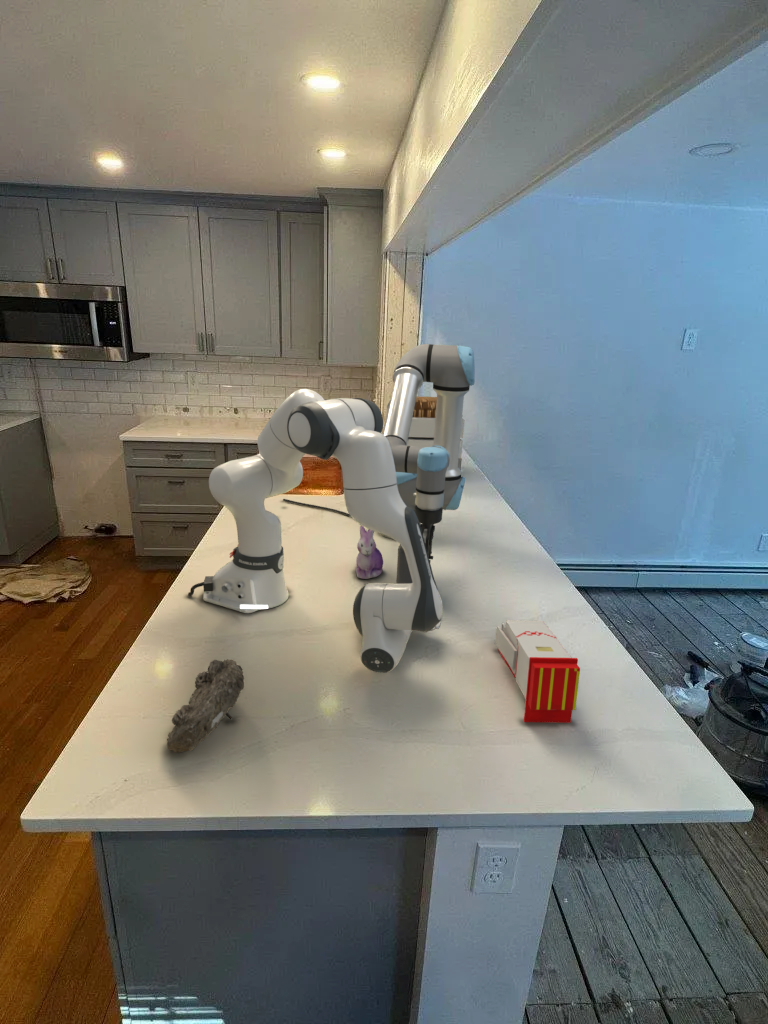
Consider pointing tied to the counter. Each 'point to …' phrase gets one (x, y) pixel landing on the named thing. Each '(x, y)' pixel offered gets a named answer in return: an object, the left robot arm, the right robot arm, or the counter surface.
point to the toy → (540, 670)
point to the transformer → (426, 424)
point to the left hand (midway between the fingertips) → (406, 596)
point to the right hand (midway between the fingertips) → (422, 584)
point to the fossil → (206, 705)
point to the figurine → (368, 556)
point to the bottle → (402, 568)
